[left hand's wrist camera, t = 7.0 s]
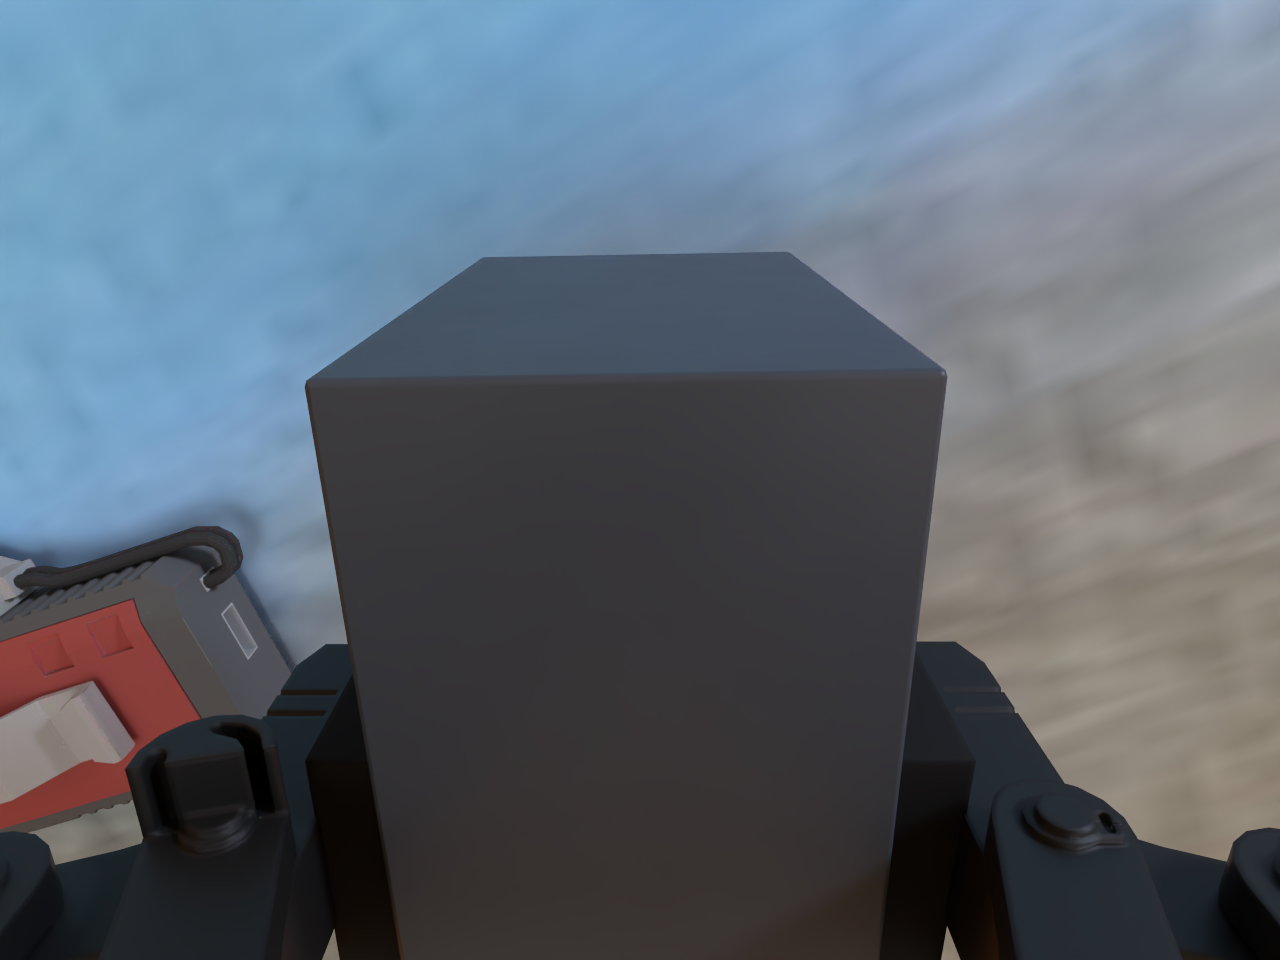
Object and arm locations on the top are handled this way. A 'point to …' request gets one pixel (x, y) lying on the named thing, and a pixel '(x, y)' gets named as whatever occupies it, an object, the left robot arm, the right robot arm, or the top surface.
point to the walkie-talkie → (120, 667)
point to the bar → (632, 604)
